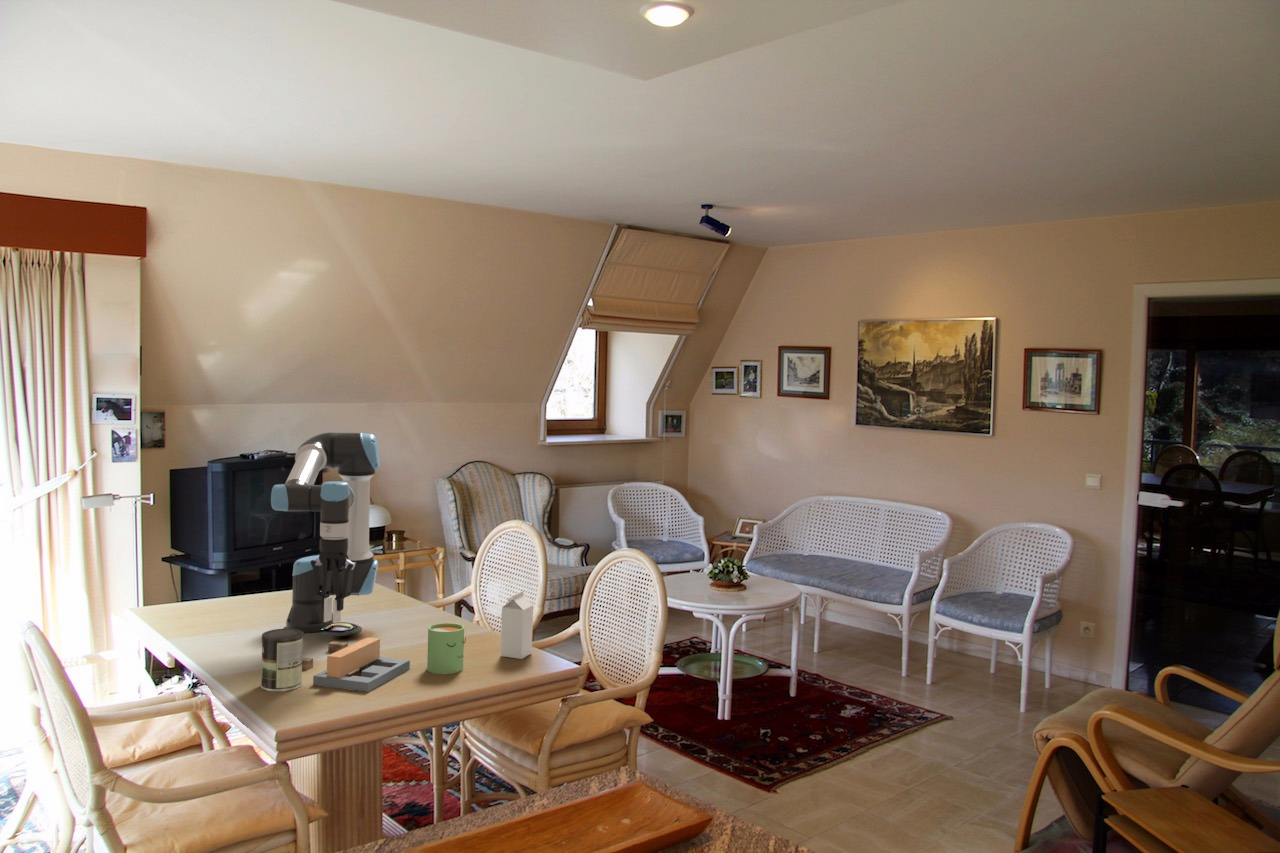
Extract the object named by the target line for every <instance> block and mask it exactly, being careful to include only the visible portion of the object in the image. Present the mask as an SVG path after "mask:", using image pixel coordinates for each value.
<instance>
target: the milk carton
mask: <svg viewBox="0 0 1280 853" xmlns="http://www.w3.org/2000/svg"><path fill="white" fill-rule="evenodd" d="M524 592H525V591H524V590H523V591H522V590H521V591H520V592H518V593H515V594H513V595H511V596H510V597H509V598H508V599H507V603H506V604H505V605H503V606H502V607H501V631H500V635H501V636H500V657H504V658H512V659H517V660H518V659H519V660H520V659H521V660H523V659H524V658H526V657H528V656H529V655H531V654H532V653H533V627H534V625H533V624H534V622H533V621H534V604H533V603H532V602H531V601H530V600H529V599H528V598H527V597H526V596H525V594H524Z"/></svg>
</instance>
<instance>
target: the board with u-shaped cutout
mask: <svg viewBox="0 0 1280 853" xmlns="http://www.w3.org/2000/svg"><path fill="white" fill-rule="evenodd" d="M410 663H411V661H410V659H403V658H393V657H385V656H380V658H378V659H376V660H374V661H372V662H370V663H368V668H367V669H365V670H360V671H361V672H360V676H359V675H351V676H348V677H345V676H343V677H341V678H337V677H329V676H327V668H326V669H324V670H322V671H321V672H318V673H316V674H314V675H313V677H312V678H313V679H312V685H313V686H317V685H318V686H319V687H325V688H332V687H334V689H340V688H343V689H342V690H347V689H351V690H350V691H355V690H358V691H357V692H363V691H365V693H369V692H371V691H373V690H374V689H376V688H378V687H380V686H382V685H383V684H385V683H387V682H389V681H391V680H392V679H393V678H396V677H397V676H400V675H401V674H403V673H405V672H406V671H408V670H410V666H411V664H410Z"/></svg>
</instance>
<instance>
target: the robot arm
mask: <svg viewBox="0 0 1280 853" xmlns="http://www.w3.org/2000/svg"><path fill="white" fill-rule="evenodd" d="M380 457H381V456H380V449H379V443H378V439H377V437H376V436H375V435H374V434H372V433H364V432H323V433H319V434H317V435H314V436H312V437H310V438H308V439H307V440H305V441H304V442H303V443H301V444H300V446H299V447H298V449H297V451H296V452H295V456H294V461H295V462H294V464H293V466H292V468H291V470H290V473H289V475H288V477H287V479H286V481H285V483H284V484H283V483H280V484H274V485H273V487H272V488H271V494H270V506H271V508H272V509H273V510H274V511H277V512H278V511H279V512H320V520H319V521H320V524H319V536H320V539H319V552H320V554H317V555H310V556H305V557H301V558H298V559H297V560H295V562H294V563H293V568H292V569H293V570H292V575H291V576H292V594H291V596H292V598H291V599H292V601H291V603H292V604H291V606H290V609H289V610H290V611H289V613H288V616H287V618H286V621H285V629H298V630H301V631H303V633H318V632H321V631H320V630H321V629H322V628H323V627H325V626H328V625H331V624H334V623H335V624H337V623H339V622H341V620H342V614H341V613H342V611H343V610H344V604H345V602H344V600H345V598H349V597H350V596H357V597H359V596H366V595H367V596H368V595H371V594H372V593H373V591H374V589H375V585H376V579H377V575H378V574H377V573H378V568H379V561H378V560H377V559H374V558H375V557H374V553H373V552H372V551H371V550H370V512H371V511H370V509H371V508H370V505H371V504H370V503H371V497H370V496H371V479H372V478H373V477H374V476H375V475H376V470H379V469H380V466H381V461H380ZM323 469H337V475H338V476H340V478H341V479H342V480H341V481H340V480H339V481H338V480H335V481H334V480H332V481H331V480H330V481H324V482H323V483H321V484H319V485H318V484H315V482H316V481H317V480H316V479H317V477H318V475H319V473H320V471H321V470H323ZM333 596H335V598H334V599H333Z"/></svg>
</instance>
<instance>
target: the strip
mask: <svg viewBox="0 0 1280 853" xmlns="http://www.w3.org/2000/svg"><path fill="white" fill-rule="evenodd" d="M380 652H381V639H380V638H376V637H365V638H364V639H361V640H359V641H357V642H355V643H353V644H351V645H348V647H346V648H343V649H341V650H339V651H337V652H331V654H328V655H326V656H327V657H326V663H327V664H326V669H327V676H329V677H337V678H341V677H343V676H345V677H349V676H350V675H349V674H350V673H353V672H355V671H357V670H358V669H359V670H360V671H363V670H365V669H367V668H369V667H368V663H370V662H372V661H374V660H376V659H378V658H380V657H381V655H380V654H381V653H380Z"/></svg>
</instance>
